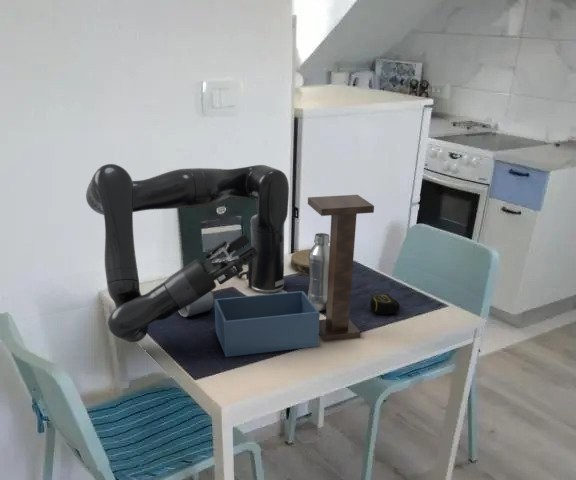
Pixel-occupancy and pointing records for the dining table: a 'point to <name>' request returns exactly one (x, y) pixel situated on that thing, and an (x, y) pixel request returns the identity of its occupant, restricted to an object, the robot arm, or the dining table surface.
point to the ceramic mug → (199, 305)
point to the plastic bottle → (319, 271)
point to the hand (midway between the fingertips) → (251, 243)
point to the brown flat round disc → (301, 262)
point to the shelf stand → (340, 261)
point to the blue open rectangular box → (266, 323)
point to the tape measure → (384, 304)
